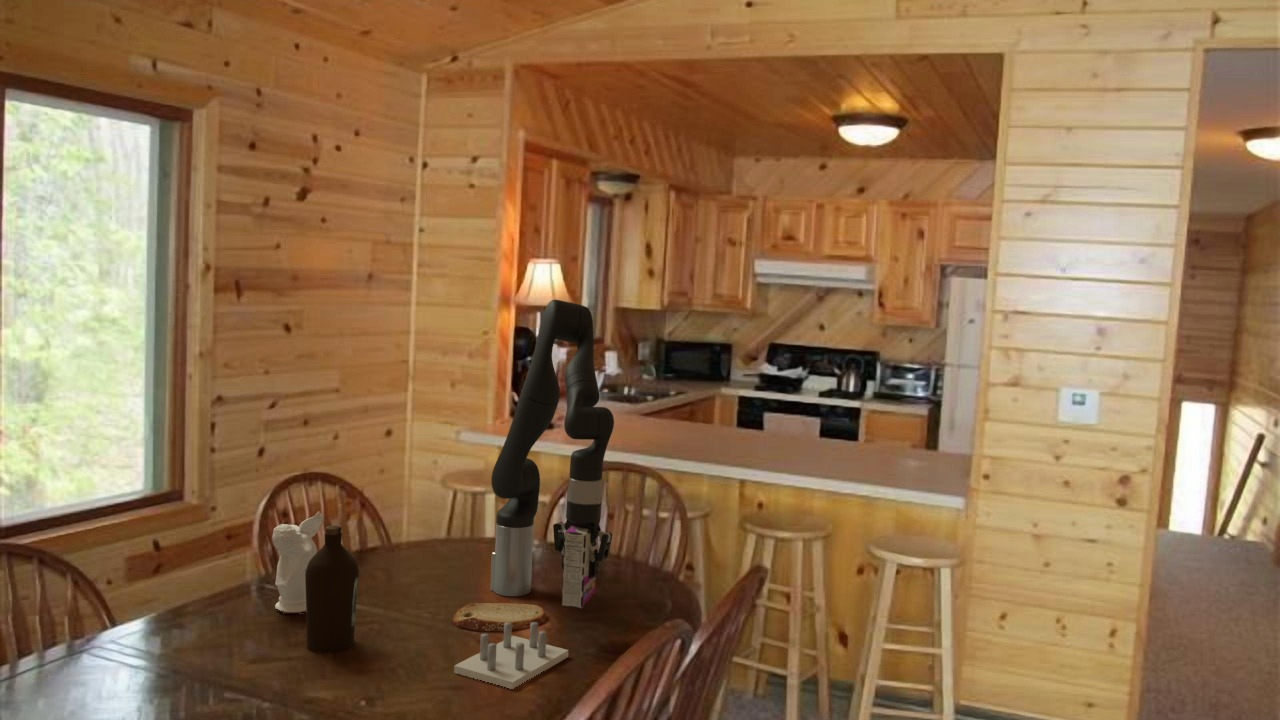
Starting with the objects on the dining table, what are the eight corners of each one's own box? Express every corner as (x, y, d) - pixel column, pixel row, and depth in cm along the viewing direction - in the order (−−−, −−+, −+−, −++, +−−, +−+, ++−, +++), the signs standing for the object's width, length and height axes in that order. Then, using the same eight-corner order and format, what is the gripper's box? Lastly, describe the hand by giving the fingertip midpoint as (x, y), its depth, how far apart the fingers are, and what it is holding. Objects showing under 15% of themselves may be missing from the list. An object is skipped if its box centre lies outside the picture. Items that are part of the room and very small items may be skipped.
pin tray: (454, 672, 197) (455, 641, 196) (512, 642, 214) (514, 613, 214) (512, 689, 190) (513, 656, 190) (568, 657, 208) (569, 626, 207)
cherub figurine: (278, 619, 221) (278, 522, 219) (257, 603, 231) (257, 510, 228) (330, 608, 229) (331, 514, 227) (308, 593, 239) (309, 503, 236)
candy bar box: (574, 590, 223) (578, 518, 221) (595, 593, 221) (600, 521, 220) (559, 606, 212) (564, 530, 210) (582, 609, 211) (586, 533, 209)
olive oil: (307, 656, 201) (310, 535, 199) (300, 638, 211) (303, 522, 208) (361, 650, 206) (364, 531, 204) (352, 632, 215) (355, 519, 213)
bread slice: (553, 618, 232) (554, 602, 232) (511, 642, 216) (512, 625, 215) (488, 603, 239) (488, 588, 239) (443, 626, 223) (444, 609, 223)
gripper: (546, 496, 215) (542, 572, 216) (604, 507, 208) (599, 586, 209) (565, 490, 221) (561, 564, 223) (622, 501, 214) (617, 577, 216)
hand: (579, 574), depth 216 cm, fingers closed on candy bar box, 5 cm apart
